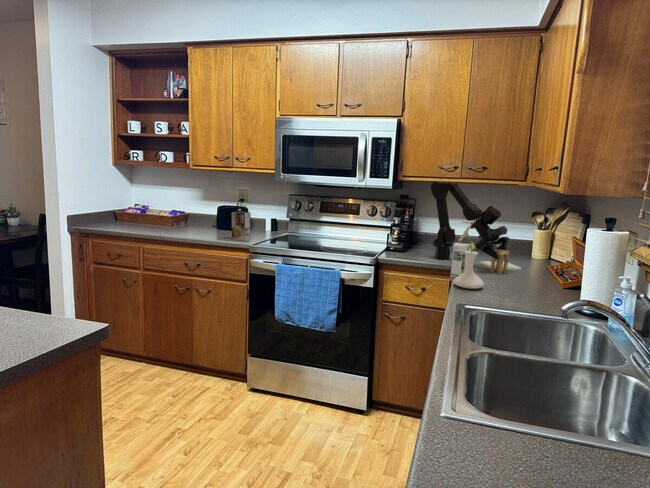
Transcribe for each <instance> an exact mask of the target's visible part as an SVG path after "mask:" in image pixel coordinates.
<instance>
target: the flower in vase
mask: <svg viewBox="0 0 650 488" xmlns="http://www.w3.org/2000/svg"><path fill="white" fill-rule="evenodd" d="M470 228H471V224H468V226H467V228H466V229H465V230H464V232H463V233H462V235H460V238H459V239H458V242H461V241H462V240H463V239H464V238H465V236H467V237H468V239H469V243H468V244H469V247H468V248H467V250H469V249H471V251H465V254H466V256H467V269H466V271H465V272H464V273H462V274H461V275H459V276H458V277H456V278H453V284H454V285H456V286H457V287H459V288H464V289H475V290H476V289H481V288H482V287H484V286H485V283H484V282H483V280H482V279H481V278H480V277H479V276H478V275H477V274H476V272H474V263H475V259H476V257H477V256H478V255H479V252H477V251H473V250H474V249H476V248H475V243H474V242H473V241H472V240H471V237H470V235H469V231H470V230H471V229H470Z"/></svg>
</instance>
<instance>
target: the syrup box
mask: <svg viewBox="0 0 650 488" xmlns="http://www.w3.org/2000/svg"><path fill="white" fill-rule="evenodd" d="M469 244H470V243H462V242H455V243H453V244H452V246H453V248H452V256H451V257H452V258H451V259H452V260H451V271H450V278H453V279H455V278H456V277H458V276H459V275H461V274H462V273H464V272H465V271H466V269H467V256H466V254H465V251H471V249H469V250H467V248H468V247H469Z"/></svg>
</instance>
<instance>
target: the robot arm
mask: <svg viewBox="0 0 650 488" xmlns="http://www.w3.org/2000/svg"><path fill="white" fill-rule="evenodd" d="M430 191H431V195H432V196H433V197H434V200H435V201H436V210H437V211H436V212H437V218H438V224H439V225H438V227H439V228H438V231H437V238H436V239H435V240H434V241H433V242H432V244H433V247H435V248H434V249H435V251H434V255H433V258H434V259H436V260H450V259H451V258H450V256H451V250H450V247H451V248H452V246H453V245H454V242H455V241H456V237H457V235H456V230H455V229H454V228H452V227H451V224H450V219H449V212H448V211H449V210H448V204H447V196H448V194H449V193H450V194H451V195H452V197H453V198H454V200H456V202H457V203H458V205H459V206H460V208H461V209H462V214H463V216H464V218H465V219H466V220H467V221H469V222H470V221H471V223H470V225H471V228H470V229H469V230H472V229H474V230H475V231H476V232H477V234H478V238H479V239H480V240H478V241H477V242H476V243H474V246H475V249H476V252H477V251H481V252H482V253H484V254H486V255H488V256H490V257H491V258H492V257H493V258H495V259H496V261H497V260H498V259H499V257H498V255H497V253H496V252H495V250H498V249H501V250H506V251H508V250H507V244H509V242H510V241H511V239H510V238H509V236H504V235H507V233H508V228H507V227H506V226H505V225H502V226H500V227H497V228H491V227H490V225H494V223H495V222H496V221H498V220H499V219H500V218H501V217H502V213H501V212H500V210H498V209H497V208H495V207H494V206H493V205H489V206H488V207H487V208H486V209H485V210H484V211H482V209H481V208H479V206H477V205H476V204H474V203H472V202H471V200H469V198H468V197H467V195H466V194H465V193H464V192H463V190H462V189H461V188H460V186H459V184H458V183H457V182H448V183H447V182H446V181H440V180H439V181H438V180H437V181H433V182H432V183H431V184H430ZM472 221H473V222H472ZM494 247H495V248H494ZM504 258H505V254H504Z"/></svg>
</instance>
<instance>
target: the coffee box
mask: <svg viewBox="0 0 650 488" xmlns="http://www.w3.org/2000/svg"><path fill="white" fill-rule="evenodd" d="M231 240H232V241H240V242H241V241H242V242H247V241H250V240H251V212H250V211H249V212H248V211H232V212H231Z"/></svg>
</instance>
